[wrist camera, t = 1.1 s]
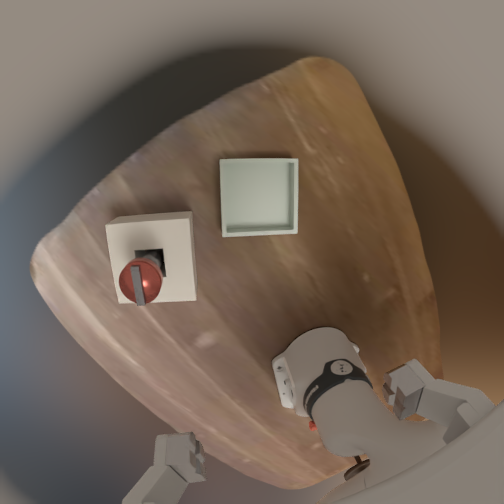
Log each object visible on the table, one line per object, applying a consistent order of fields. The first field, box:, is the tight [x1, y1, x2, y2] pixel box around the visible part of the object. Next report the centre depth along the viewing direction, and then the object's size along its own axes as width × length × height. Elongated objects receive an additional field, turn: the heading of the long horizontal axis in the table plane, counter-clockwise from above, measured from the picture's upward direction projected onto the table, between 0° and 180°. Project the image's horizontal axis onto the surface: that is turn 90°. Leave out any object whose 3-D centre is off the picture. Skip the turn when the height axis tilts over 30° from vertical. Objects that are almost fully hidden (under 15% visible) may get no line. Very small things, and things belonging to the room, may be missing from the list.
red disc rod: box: [119, 249, 164, 306], centre depth 37 cm, size 5×5×14 cm
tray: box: [219, 158, 298, 237], centre depth 42 cm, size 11×11×3 cm
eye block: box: [105, 211, 198, 303], centre depth 41 cm, size 12×12×6 cm
